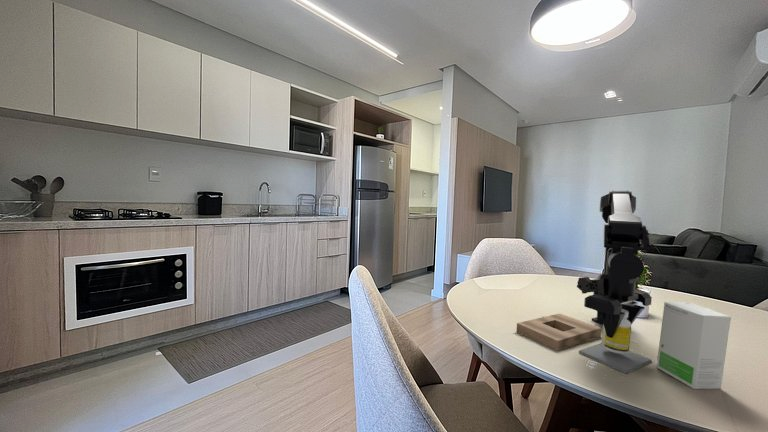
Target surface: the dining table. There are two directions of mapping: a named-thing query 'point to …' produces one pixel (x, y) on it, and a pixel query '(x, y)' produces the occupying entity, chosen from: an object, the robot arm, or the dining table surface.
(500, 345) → the dining table surface
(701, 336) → the skincare box
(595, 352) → the rubber mat
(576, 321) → the wooden block with hole
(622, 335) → the supplement bottle
